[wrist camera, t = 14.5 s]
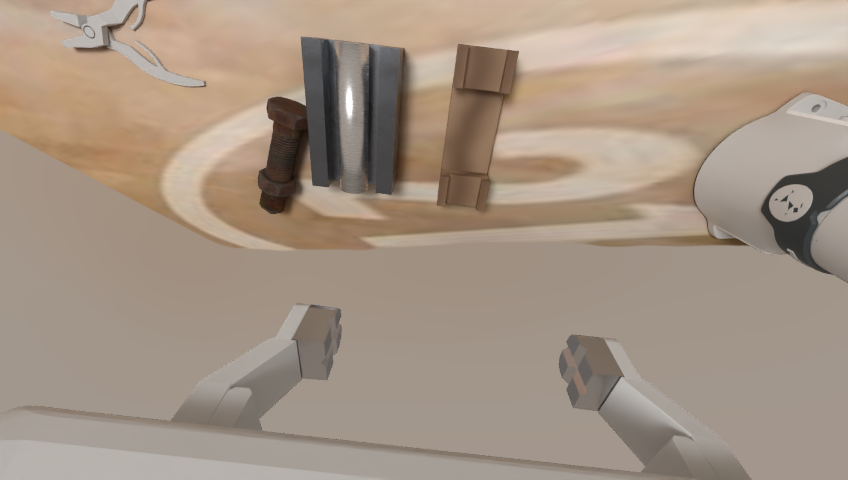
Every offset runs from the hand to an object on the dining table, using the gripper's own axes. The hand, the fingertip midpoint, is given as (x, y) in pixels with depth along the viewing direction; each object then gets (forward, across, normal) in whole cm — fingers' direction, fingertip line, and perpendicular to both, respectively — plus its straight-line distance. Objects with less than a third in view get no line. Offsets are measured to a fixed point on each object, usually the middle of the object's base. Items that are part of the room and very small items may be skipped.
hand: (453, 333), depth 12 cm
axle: (+30, +11, 0) cm, 32 cm away
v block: (+34, +11, 0) cm, 36 cm away
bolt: (+35, +21, +6) cm, 41 cm away
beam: (+34, -3, 0) cm, 34 cm away
